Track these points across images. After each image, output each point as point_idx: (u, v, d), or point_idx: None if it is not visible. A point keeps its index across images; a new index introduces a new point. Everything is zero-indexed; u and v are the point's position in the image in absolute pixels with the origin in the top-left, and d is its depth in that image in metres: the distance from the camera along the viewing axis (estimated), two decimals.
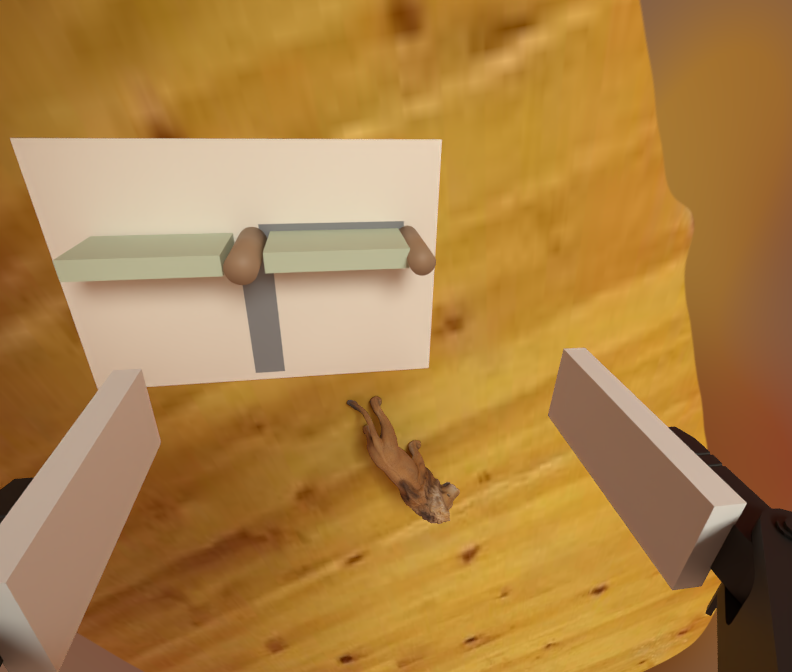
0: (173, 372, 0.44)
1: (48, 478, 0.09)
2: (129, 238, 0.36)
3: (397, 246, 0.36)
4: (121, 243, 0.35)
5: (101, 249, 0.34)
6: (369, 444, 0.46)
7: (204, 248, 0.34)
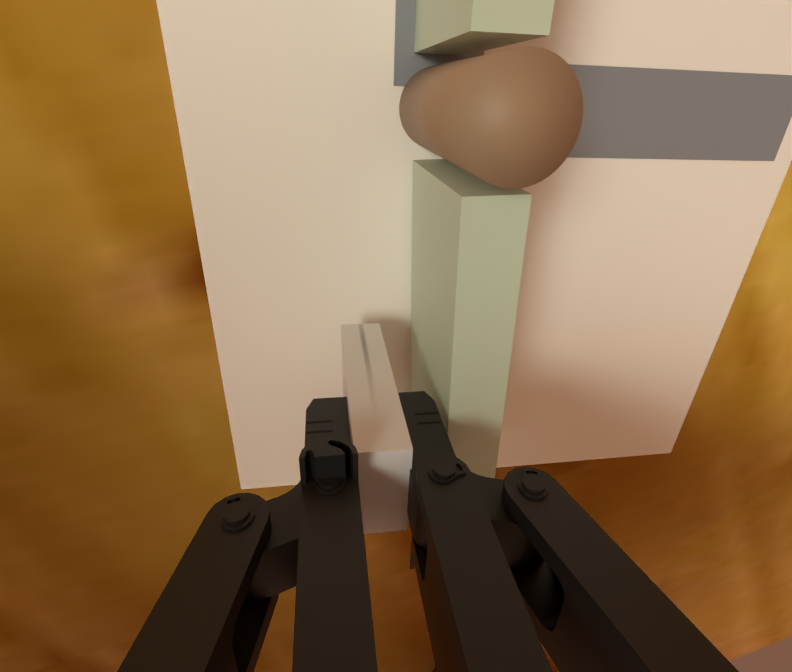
0: (691, 337, 0.21)
1: (359, 392, 0.12)
2: (414, 372, 0.18)
3: None
4: None
5: None
6: None
7: (440, 236, 0.12)
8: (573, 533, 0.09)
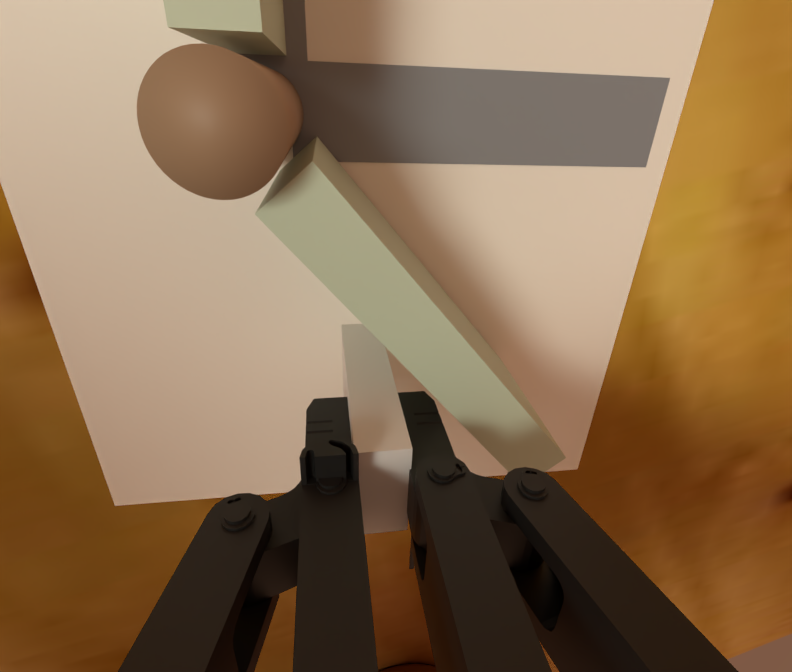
0: (582, 350, 0.20)
1: (359, 392, 0.12)
2: None
3: None
4: None
5: None
6: None
7: None
8: (573, 533, 0.09)
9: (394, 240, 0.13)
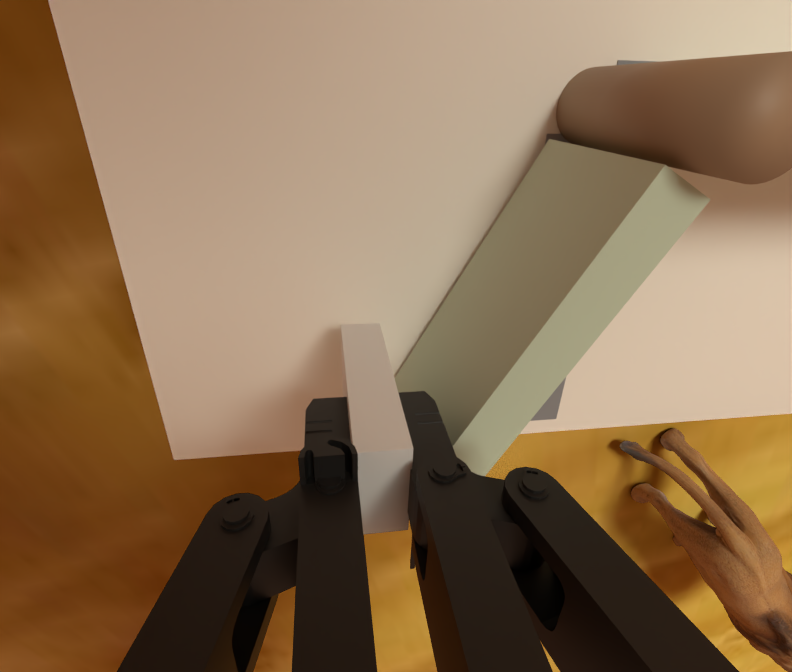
0: None
1: (358, 392, 0.12)
2: (434, 335, 0.17)
3: None
4: (440, 356, 0.16)
5: (437, 399, 0.15)
6: (704, 542, 0.21)
7: (586, 203, 0.12)
8: (573, 533, 0.09)
9: None
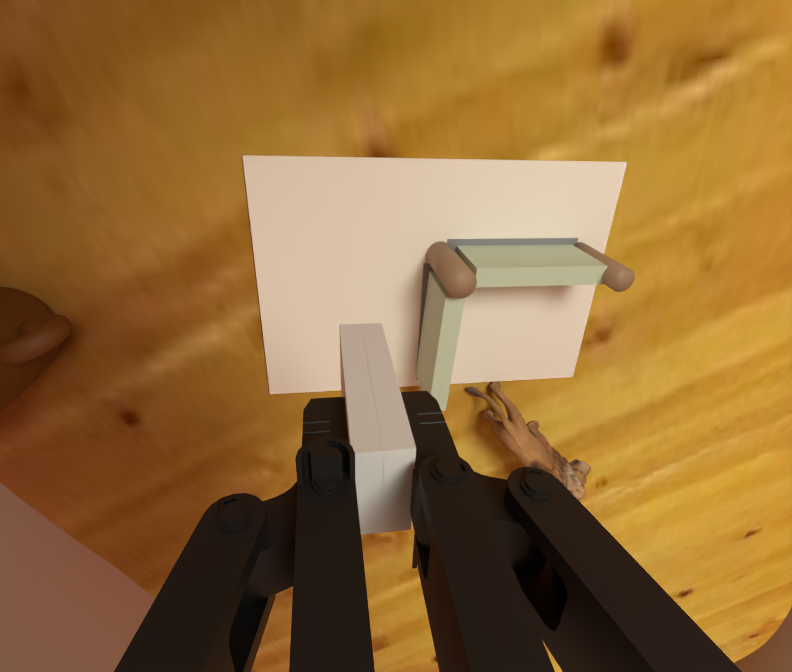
0: None
1: (356, 392, 0.12)
2: (421, 351, 0.44)
3: (593, 263, 0.37)
4: (424, 359, 0.43)
5: (426, 376, 0.42)
6: (498, 429, 0.46)
7: (438, 304, 0.38)
8: (576, 533, 0.09)
9: None
